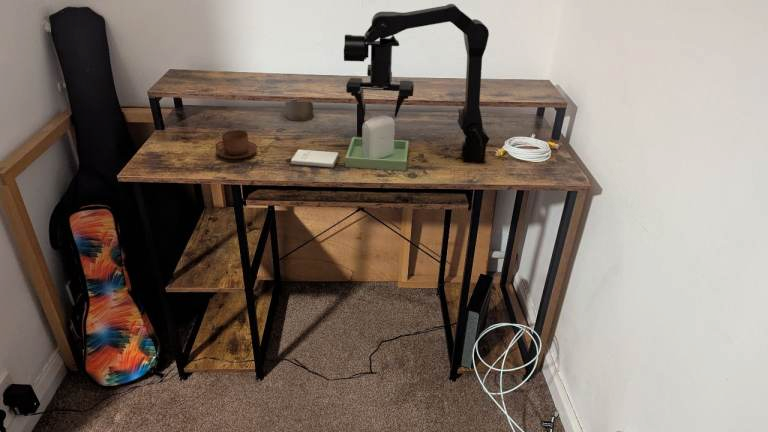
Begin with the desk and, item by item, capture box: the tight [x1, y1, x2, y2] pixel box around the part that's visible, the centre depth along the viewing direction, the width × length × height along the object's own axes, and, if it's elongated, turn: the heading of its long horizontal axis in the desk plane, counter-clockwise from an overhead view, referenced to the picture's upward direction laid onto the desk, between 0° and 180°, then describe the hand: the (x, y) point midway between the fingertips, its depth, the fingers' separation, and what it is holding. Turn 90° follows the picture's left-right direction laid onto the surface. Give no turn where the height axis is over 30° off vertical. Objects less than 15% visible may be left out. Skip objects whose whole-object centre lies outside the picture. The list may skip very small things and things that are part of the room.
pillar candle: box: [284, 101, 314, 122], centre depth 180 cm, size 10×10×15 cm
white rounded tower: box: [361, 115, 396, 159], centre depth 152 cm, size 10×4×12 cm, turn 126°
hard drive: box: [290, 149, 340, 169], centre depth 151 cm, size 2×8×12 cm
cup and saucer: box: [215, 129, 258, 160], centre depth 152 cm, size 12×12×6 cm
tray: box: [344, 136, 409, 172], centre depth 154 cm, size 18×16×3 cm
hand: (379, 116), depth 149 cm, fingers open, 9 cm apart
